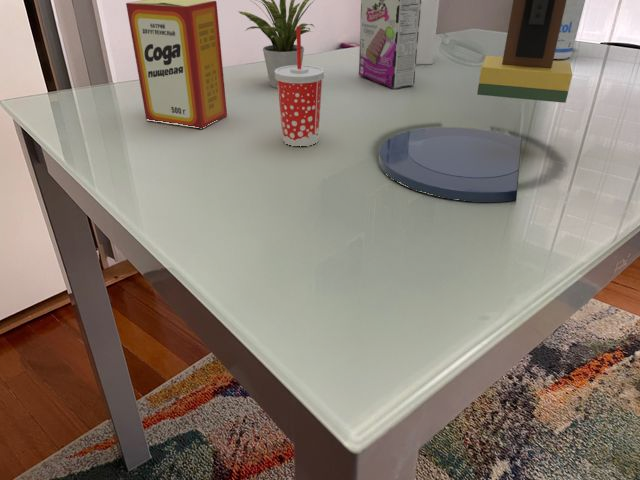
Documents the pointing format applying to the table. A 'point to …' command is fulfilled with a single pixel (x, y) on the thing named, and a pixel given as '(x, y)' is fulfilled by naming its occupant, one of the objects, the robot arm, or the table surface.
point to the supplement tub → (569, 28)
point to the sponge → (527, 65)
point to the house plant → (280, 35)
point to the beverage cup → (299, 100)
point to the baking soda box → (179, 60)
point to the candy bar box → (389, 41)
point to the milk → (427, 31)
